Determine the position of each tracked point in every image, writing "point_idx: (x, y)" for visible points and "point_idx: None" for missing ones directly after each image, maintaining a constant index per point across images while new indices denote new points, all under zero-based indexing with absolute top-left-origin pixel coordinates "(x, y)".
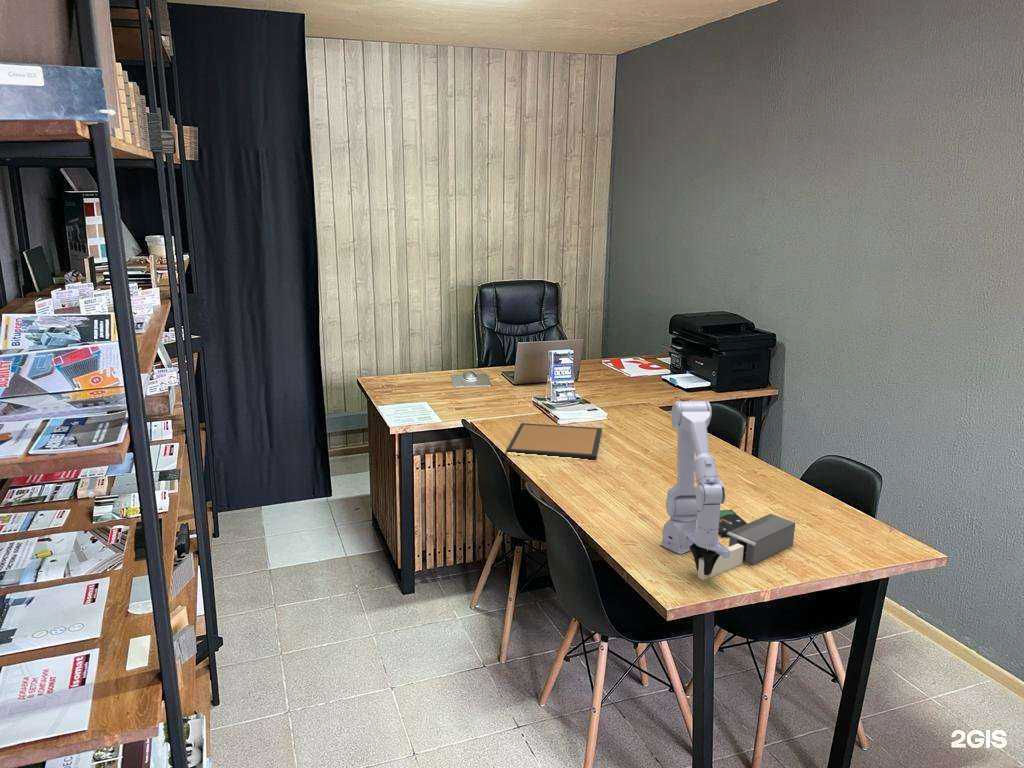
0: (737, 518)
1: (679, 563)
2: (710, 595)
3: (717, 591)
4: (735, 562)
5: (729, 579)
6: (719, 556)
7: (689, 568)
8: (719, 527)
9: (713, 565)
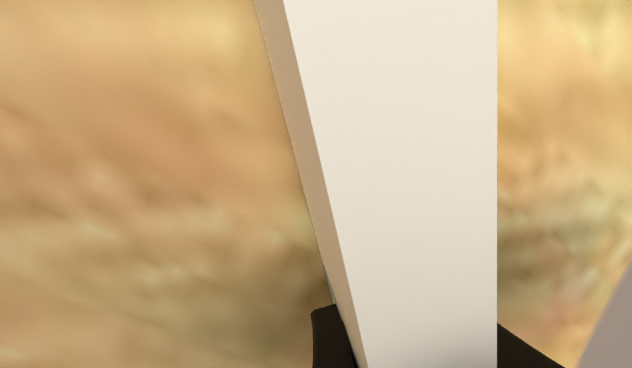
0: None
1: (41, 360)
2: (571, 331)
3: (570, 273)
4: None
5: (508, 72)
6: (485, 254)
7: (166, 317)
8: None
9: (505, 336)
